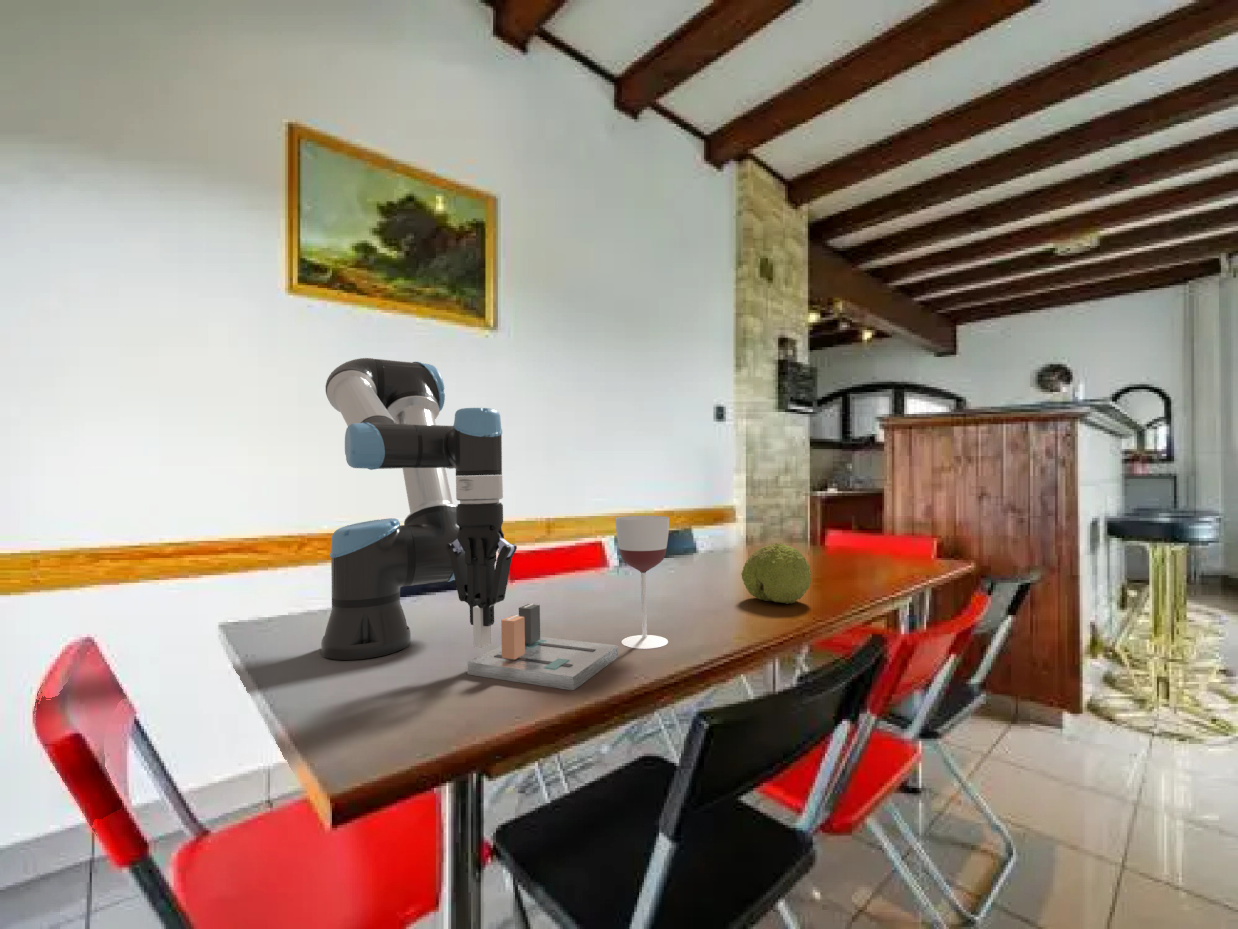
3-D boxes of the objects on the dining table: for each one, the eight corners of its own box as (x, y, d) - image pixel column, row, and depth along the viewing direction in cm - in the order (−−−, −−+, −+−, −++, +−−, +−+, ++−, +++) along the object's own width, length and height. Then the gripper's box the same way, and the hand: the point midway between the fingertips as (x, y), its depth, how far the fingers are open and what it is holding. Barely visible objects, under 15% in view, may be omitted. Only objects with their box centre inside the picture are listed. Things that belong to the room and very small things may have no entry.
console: (467, 674, 91) (467, 661, 91) (523, 645, 106) (523, 634, 106) (573, 690, 83) (573, 676, 83) (618, 657, 98) (617, 644, 98)
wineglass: (668, 650, 101) (665, 519, 102) (613, 647, 103) (610, 519, 104) (674, 635, 110) (671, 515, 111) (623, 633, 112) (620, 515, 113)
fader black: (519, 642, 100) (518, 606, 100) (528, 637, 102) (528, 603, 102) (531, 644, 99) (530, 607, 99) (540, 639, 101) (539, 603, 101)
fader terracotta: (501, 657, 91) (501, 618, 92) (512, 652, 94) (512, 614, 94) (514, 659, 91) (513, 620, 91) (525, 653, 93) (524, 615, 93)
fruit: (733, 605, 134) (727, 544, 141) (765, 617, 143) (758, 559, 150) (796, 591, 124) (786, 526, 131) (827, 604, 133) (816, 543, 140)
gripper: (433, 503, 94) (435, 647, 94) (498, 502, 89) (501, 656, 89) (463, 500, 101) (465, 635, 101) (525, 500, 96) (528, 642, 95)
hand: (482, 645), depth 95 cm, fingers closed
